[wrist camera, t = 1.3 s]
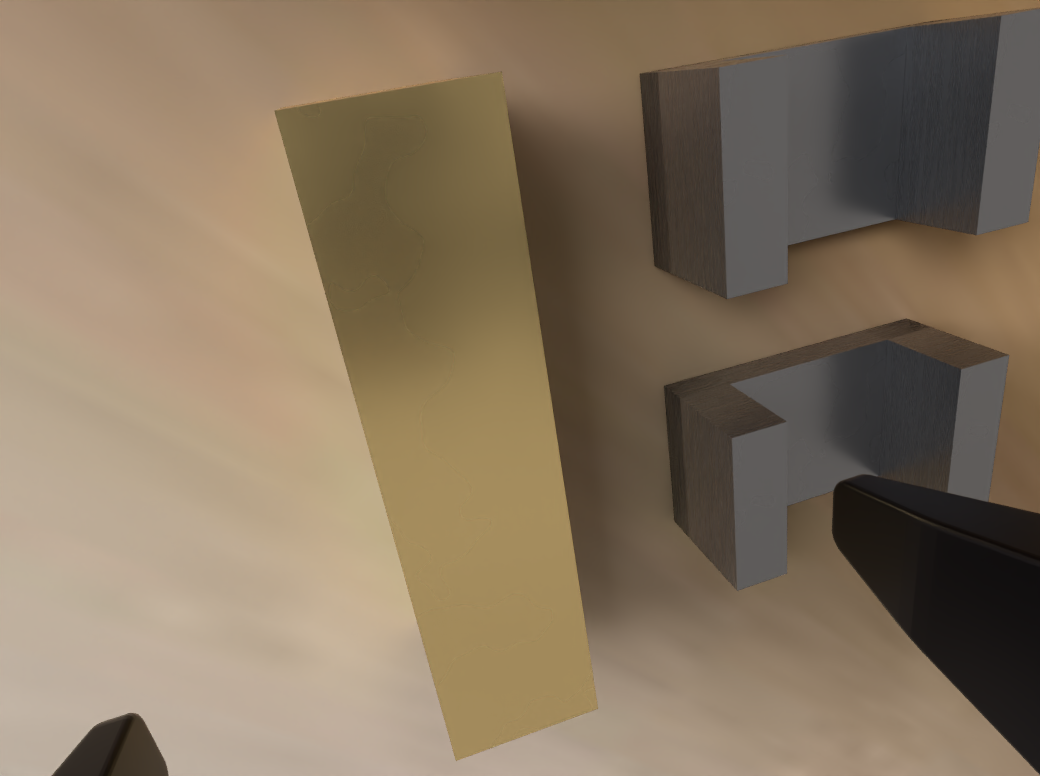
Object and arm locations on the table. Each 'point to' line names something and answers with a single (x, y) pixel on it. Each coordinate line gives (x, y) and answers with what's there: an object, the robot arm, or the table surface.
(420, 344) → the tan rectangular block
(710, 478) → the bracket
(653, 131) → the near chain end
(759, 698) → the table surface
